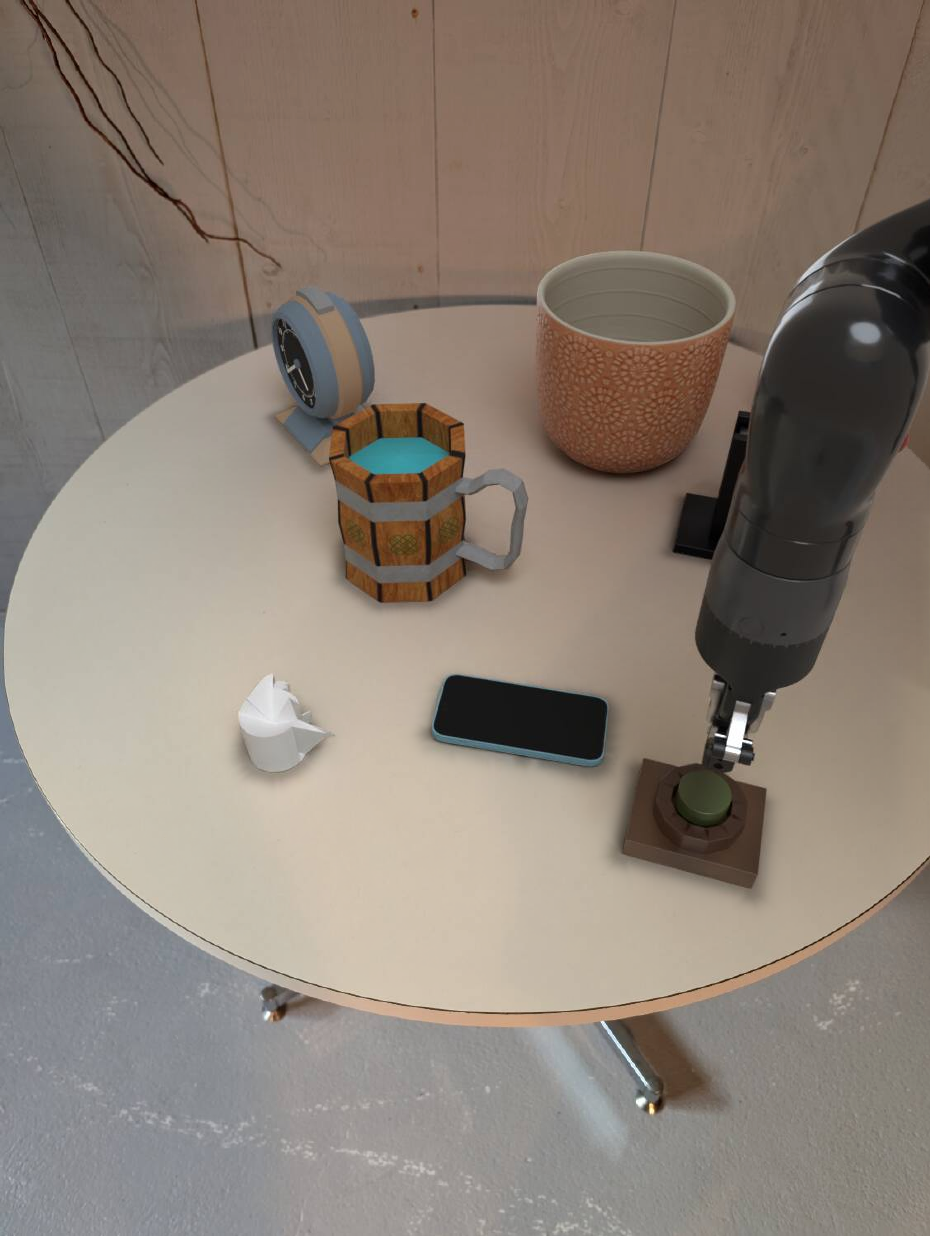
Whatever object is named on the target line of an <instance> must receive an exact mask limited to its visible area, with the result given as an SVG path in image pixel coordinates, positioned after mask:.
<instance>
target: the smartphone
mask: <svg viewBox="0 0 930 1236" xmlns="http://www.w3.org/2000/svg"><path fill="white" fill-rule="evenodd" d="M609 710H610V705H609V702H608V701H607V700H606V699H605V698H603V697H601V696H597V695H593V694H586V693H579V692H573V691H568V690H561V689H556V688H550V687H549V688H548V687H544V686H536V685H530V684H524V683H517V682H512V681H506V680H499V679H495V678H494V679H493V678H486V677H481V676H475V675H468V674H463V673H451V674H449V675H447V676H446V677H445V678H444V679H443V682H442V686H441V690H440V692H439V696H438V700H437V704H436V708H435V711H434V715H433V719H432V723H431V735H432V737H433V738H434V739H435V740H436V741H439V742H443V743H448V744H454V745H460V746H465V747H471V748H477V749H482V750H489V751H495V752H500V753H501V752H502V753H507V754H513V755H519V756H525V757H530V758H536V759H540V760H541V759H542V760H548V761H554V762H559V763H565V764H570V765H576V766H581V767H582V766H583V767H590V768H591V767H597V766H599V765H600V764H601V763H602V761H603V759H604V754H605V749H606V748H605V746H606V738H607V730H608V720H609Z"/></svg>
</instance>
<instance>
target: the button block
mask: <svg viewBox="0 0 930 1236" xmlns="http://www.w3.org/2000/svg"><path fill="white" fill-rule="evenodd" d="M695 770H706V771H710V772H713V773H715V774H717V775H719V776H720V777H722V778H723V779H724V780H725V781H726V783H727V784H728V786H729V787H730V790H731V795H732V799H731V803H730V805H729V808H728V811H727V813H726V815H725V817H724V818H723V820H721V821H720V822H719V823H717V824H714V825H711V826H700V825H696V824H693V823H691V822H689V821H688V820H686V819H685V818H684V817H683V816H682V815H681V814H680V813H679V811H678V809H677V807H676V803H675V796H676V793H677V789H678V786H679V783H680V780H681V779H682V778H683V776H685V775H686V774H687V773H689V772H691V771H695ZM636 784H637V785H636V789H635V793H634V798H633V803H632V808H631V812H630V817H629V821H628V826H627V830H626V835H625V840H624V844H623V849H622V855H624V856H628V857H633V858H636V859H640V860H643V861H647V862H651V863H654V864H658V865H662V866H666V867H668V868H672V869H677V870H680V871H683V872H688V873H691V874H694V875H699V876H702V877H705V878H710V879H714V880H717V881H720V882H725V883H728V884H732V885H735V886H739V887H743V888H747V889H753V887H754V884H755V882H756V880H757V879H758V876H759V869H760V866H759V865H760V859H761V851H762V850H761V849H762V840H763V839H762V838H763V830H764V819H765V810H766V809H765V808H766V801H767V788H766V787H762V786H759V785H755V784H752V783H751V784H750V783H746V782H742V781H739V780H735V779H733V778H732V777H731V776H729V775H728V774H727V773H724V772H719V771H715V770H711V769H707V768H706V767H704V766H703V765H702V763H698V762H695V763H688V764H684V765H680V766H678V765H673V764H669V763H665V762H661V761H657V760H654V759H649V758H646V757H643V758H642V762H641V767H640V770H639V775H638V780H637V783H636Z"/></svg>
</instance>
